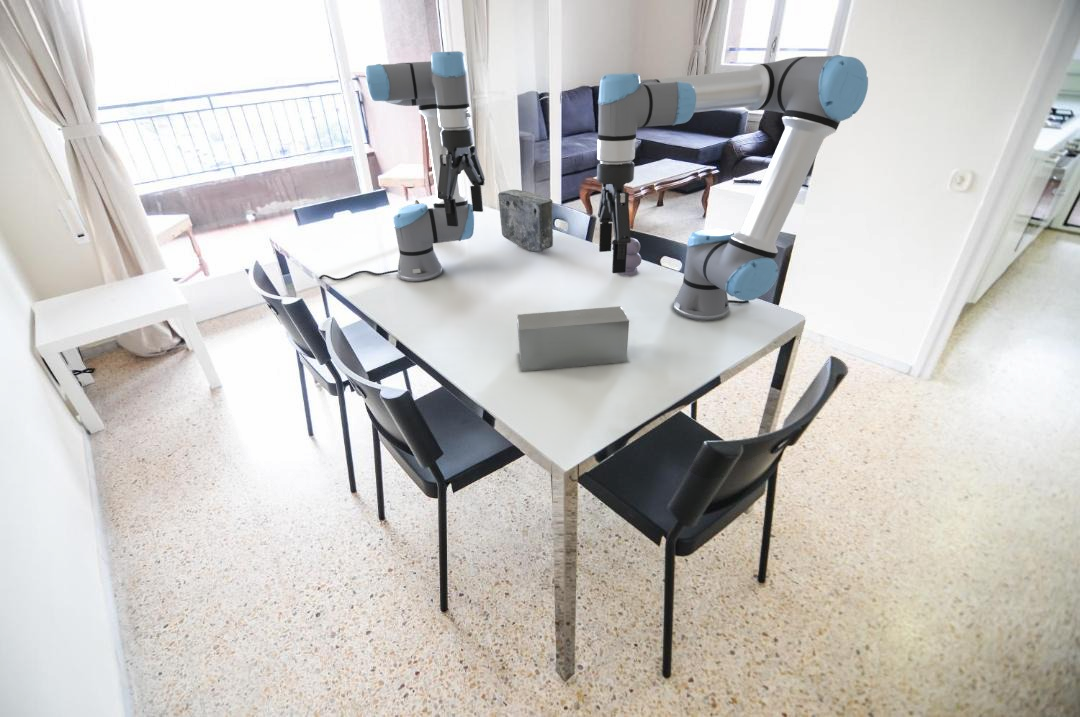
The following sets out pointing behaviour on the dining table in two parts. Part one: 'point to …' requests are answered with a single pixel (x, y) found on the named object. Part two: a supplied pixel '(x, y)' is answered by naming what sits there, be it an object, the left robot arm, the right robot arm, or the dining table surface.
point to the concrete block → (526, 219)
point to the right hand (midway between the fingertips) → (611, 261)
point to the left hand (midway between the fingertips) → (465, 218)
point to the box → (572, 338)
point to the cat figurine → (632, 258)
